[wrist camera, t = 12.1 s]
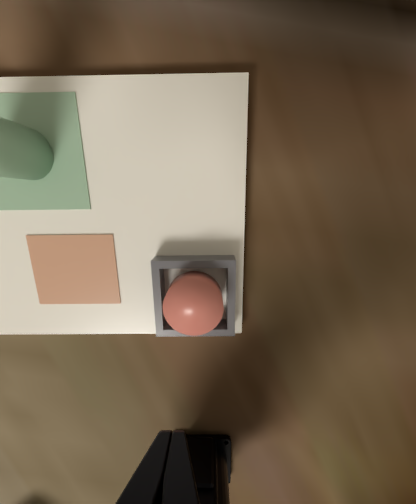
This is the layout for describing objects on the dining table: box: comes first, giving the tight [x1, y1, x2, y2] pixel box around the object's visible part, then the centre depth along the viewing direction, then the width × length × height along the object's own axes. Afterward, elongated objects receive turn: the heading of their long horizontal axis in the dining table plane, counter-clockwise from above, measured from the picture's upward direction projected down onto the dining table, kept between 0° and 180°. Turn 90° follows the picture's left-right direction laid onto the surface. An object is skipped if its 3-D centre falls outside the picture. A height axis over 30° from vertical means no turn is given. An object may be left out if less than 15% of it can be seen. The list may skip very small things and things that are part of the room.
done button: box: [163, 271, 224, 336], centre depth 17 cm, size 4×4×2 cm
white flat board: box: [0, 72, 249, 336], centre depth 17 cm, size 20×22×3 cm
